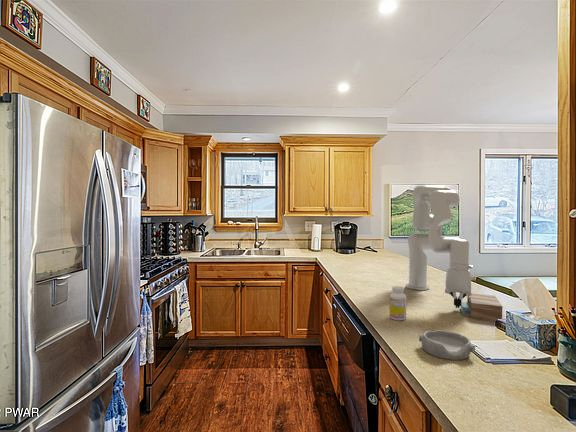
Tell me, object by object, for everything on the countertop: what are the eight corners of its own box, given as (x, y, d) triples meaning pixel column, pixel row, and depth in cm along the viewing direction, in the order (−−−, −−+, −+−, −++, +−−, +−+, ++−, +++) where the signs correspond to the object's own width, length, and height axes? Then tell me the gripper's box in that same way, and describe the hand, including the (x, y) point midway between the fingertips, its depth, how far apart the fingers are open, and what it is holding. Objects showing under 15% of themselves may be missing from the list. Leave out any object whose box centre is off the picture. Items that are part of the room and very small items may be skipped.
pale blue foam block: (460, 308, 150) (460, 301, 150) (491, 312, 145) (491, 305, 145) (462, 314, 141) (462, 307, 141) (494, 318, 136) (494, 311, 136)
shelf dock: (462, 305, 153) (462, 292, 153) (494, 309, 148) (495, 295, 148) (465, 317, 137) (466, 302, 137) (502, 322, 132) (502, 306, 132)
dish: (480, 359, 99) (481, 343, 99) (443, 364, 95) (444, 348, 95) (445, 340, 113) (445, 326, 113) (411, 344, 109) (411, 330, 109)
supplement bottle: (394, 314, 140) (394, 284, 139) (408, 318, 135) (409, 287, 135) (386, 318, 135) (386, 287, 135) (401, 322, 130) (402, 290, 130)
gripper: (477, 267, 146) (475, 307, 146) (440, 264, 152) (439, 302, 153) (478, 269, 139) (477, 312, 140) (440, 266, 145) (439, 307, 146)
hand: (457, 307), depth 146 cm, fingers closed
